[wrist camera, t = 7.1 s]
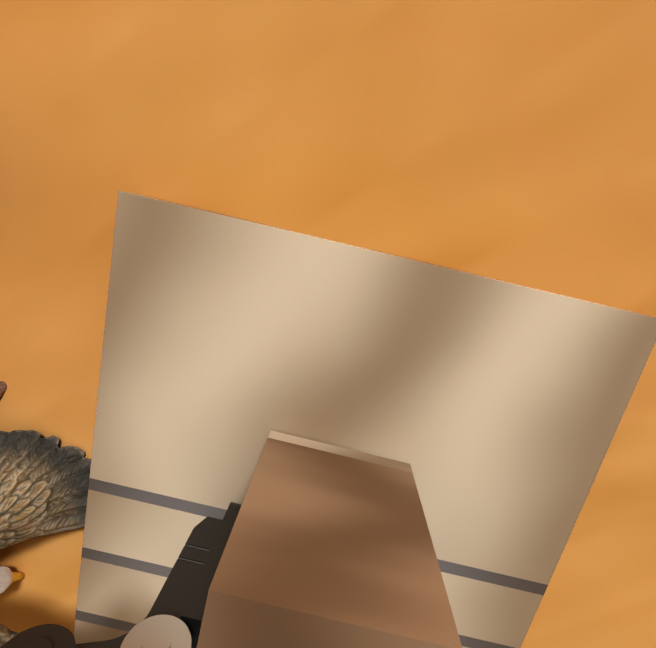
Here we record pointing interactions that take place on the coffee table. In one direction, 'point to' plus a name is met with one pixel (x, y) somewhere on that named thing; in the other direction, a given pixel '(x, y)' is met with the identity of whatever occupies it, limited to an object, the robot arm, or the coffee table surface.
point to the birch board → (342, 402)
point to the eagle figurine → (38, 493)
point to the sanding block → (328, 557)
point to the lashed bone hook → (2, 388)
